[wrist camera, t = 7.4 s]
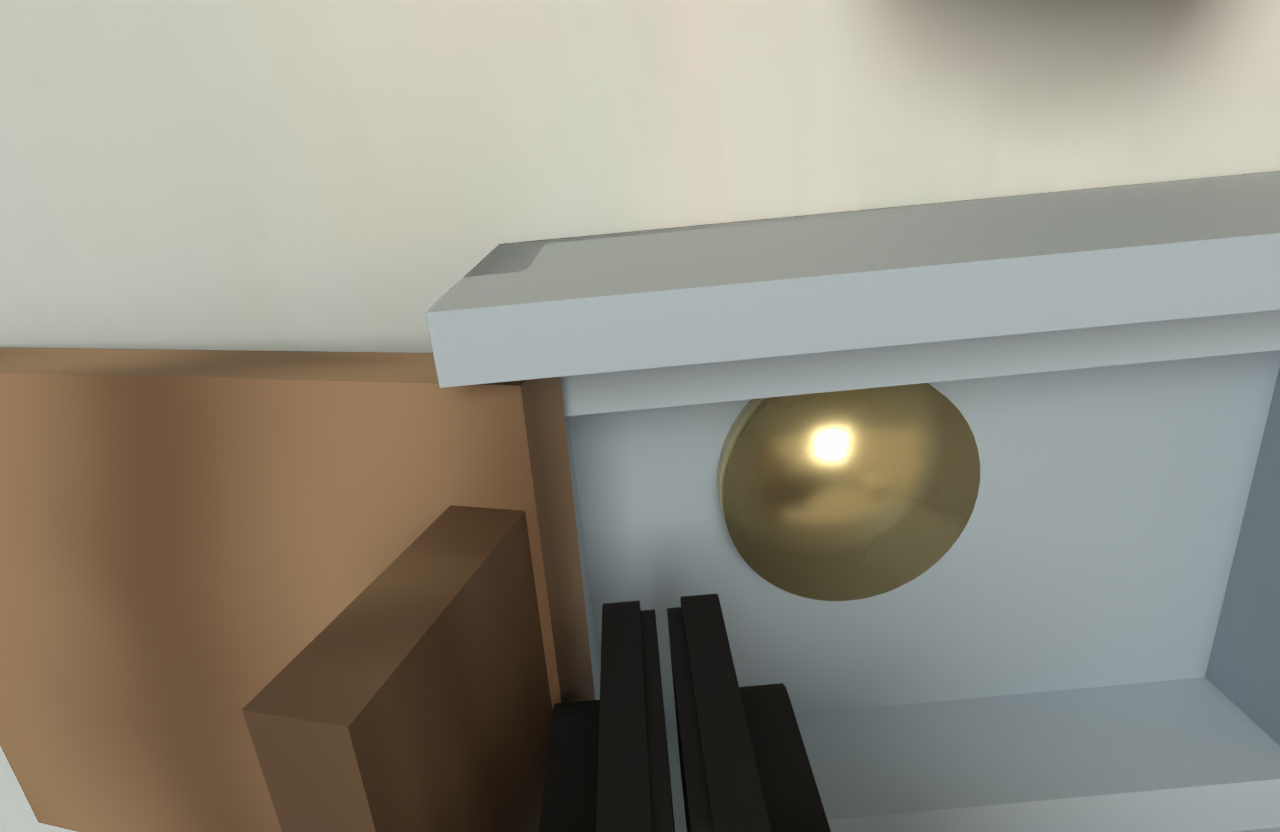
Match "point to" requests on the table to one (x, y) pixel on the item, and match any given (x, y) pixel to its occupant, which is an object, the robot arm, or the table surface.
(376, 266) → the table surface
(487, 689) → the cover plate
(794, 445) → the brass disc
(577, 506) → the light grey open box
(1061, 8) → the table surface
